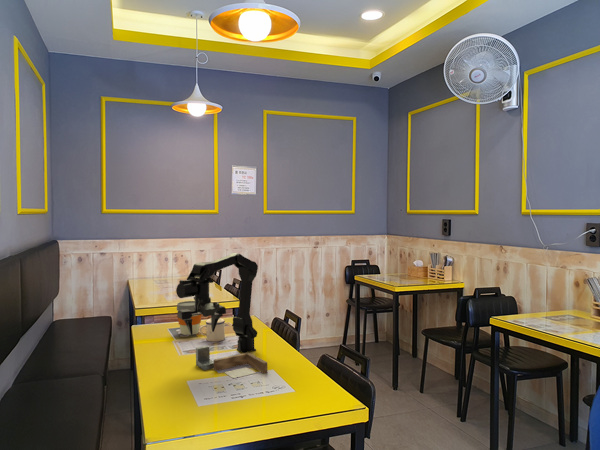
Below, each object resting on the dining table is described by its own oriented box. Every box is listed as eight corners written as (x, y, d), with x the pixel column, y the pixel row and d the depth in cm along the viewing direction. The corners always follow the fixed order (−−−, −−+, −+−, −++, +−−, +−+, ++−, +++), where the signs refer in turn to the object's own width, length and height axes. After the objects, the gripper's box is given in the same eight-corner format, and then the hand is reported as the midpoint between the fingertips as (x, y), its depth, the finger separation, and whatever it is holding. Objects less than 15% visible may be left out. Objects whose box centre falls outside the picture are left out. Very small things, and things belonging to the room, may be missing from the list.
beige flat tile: (246, 367, 182) (246, 367, 182) (256, 373, 176) (256, 372, 176) (224, 372, 176) (224, 372, 176) (233, 378, 170) (233, 378, 170)
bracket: (196, 365, 186) (195, 347, 186) (207, 362, 189) (207, 345, 188) (204, 370, 179) (203, 352, 179) (215, 367, 182) (215, 350, 182)
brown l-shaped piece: (248, 362, 188) (248, 352, 188) (267, 372, 176) (267, 362, 176) (213, 369, 180) (213, 359, 180) (231, 381, 167) (231, 370, 167)
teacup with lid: (223, 335, 228) (223, 312, 228) (226, 340, 220) (226, 316, 219) (198, 338, 225) (198, 314, 224) (201, 343, 216) (200, 318, 216)
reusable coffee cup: (199, 335, 229) (198, 305, 229) (174, 336, 229) (173, 305, 229) (204, 329, 242) (204, 300, 241) (180, 329, 242) (180, 300, 241)
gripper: (186, 300, 174) (187, 341, 174) (231, 295, 184) (232, 334, 185) (176, 296, 183) (177, 335, 183) (220, 291, 194) (220, 328, 194)
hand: (202, 333), depth 186 cm, fingers open, 9 cm apart
